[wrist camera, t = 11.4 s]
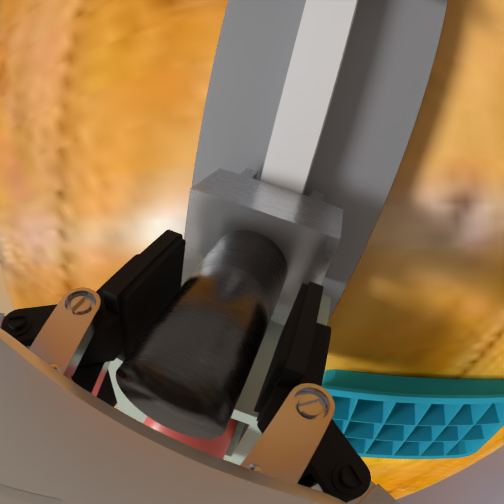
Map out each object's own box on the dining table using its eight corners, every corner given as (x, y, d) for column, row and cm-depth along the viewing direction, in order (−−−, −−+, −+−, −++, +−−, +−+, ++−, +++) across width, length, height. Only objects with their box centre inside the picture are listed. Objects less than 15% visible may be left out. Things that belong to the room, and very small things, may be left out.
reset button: (263, 360, 15) (221, 466, 10) (247, 397, 17) (210, 485, 12) (189, 330, 15) (129, 424, 10) (185, 372, 18) (138, 452, 13)
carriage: (343, 200, 15) (312, 407, 5) (312, 280, 17) (255, 471, 8) (228, 162, 15) (59, 293, 6) (212, 244, 18) (92, 396, 9)
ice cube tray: (312, 356, 24) (305, 385, 21) (521, 370, 18) (529, 395, 16) (301, 424, 29) (295, 448, 27) (469, 434, 24) (471, 456, 21)
